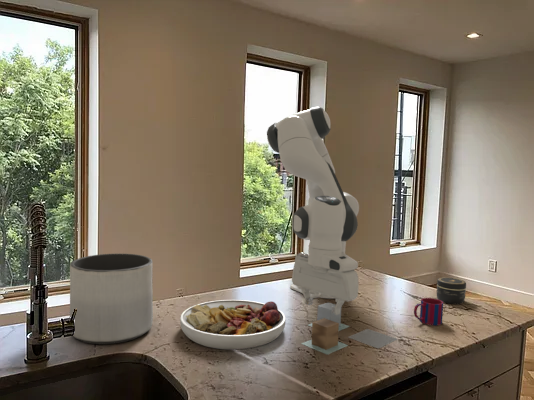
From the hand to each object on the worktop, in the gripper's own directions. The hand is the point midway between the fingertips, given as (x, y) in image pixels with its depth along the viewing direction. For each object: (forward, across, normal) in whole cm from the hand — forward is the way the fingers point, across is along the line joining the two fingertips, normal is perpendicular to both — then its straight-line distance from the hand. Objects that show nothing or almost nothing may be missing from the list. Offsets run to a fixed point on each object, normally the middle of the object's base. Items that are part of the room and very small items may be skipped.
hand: (321, 308), depth 120 cm
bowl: (+11, -23, -11) cm, 28 cm away
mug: (+10, +9, +41) cm, 43 cm away
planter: (+11, -44, -38) cm, 59 cm away
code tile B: (+10, -8, +13) cm, 18 cm away
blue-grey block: (+10, -8, +13) cm, 18 cm away
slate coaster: (+10, +6, +15) cm, 19 cm away
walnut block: (+10, +1, +1) cm, 10 cm away
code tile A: (+10, +1, +1) cm, 10 cm away
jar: (+10, +3, +70) cm, 71 cm away
